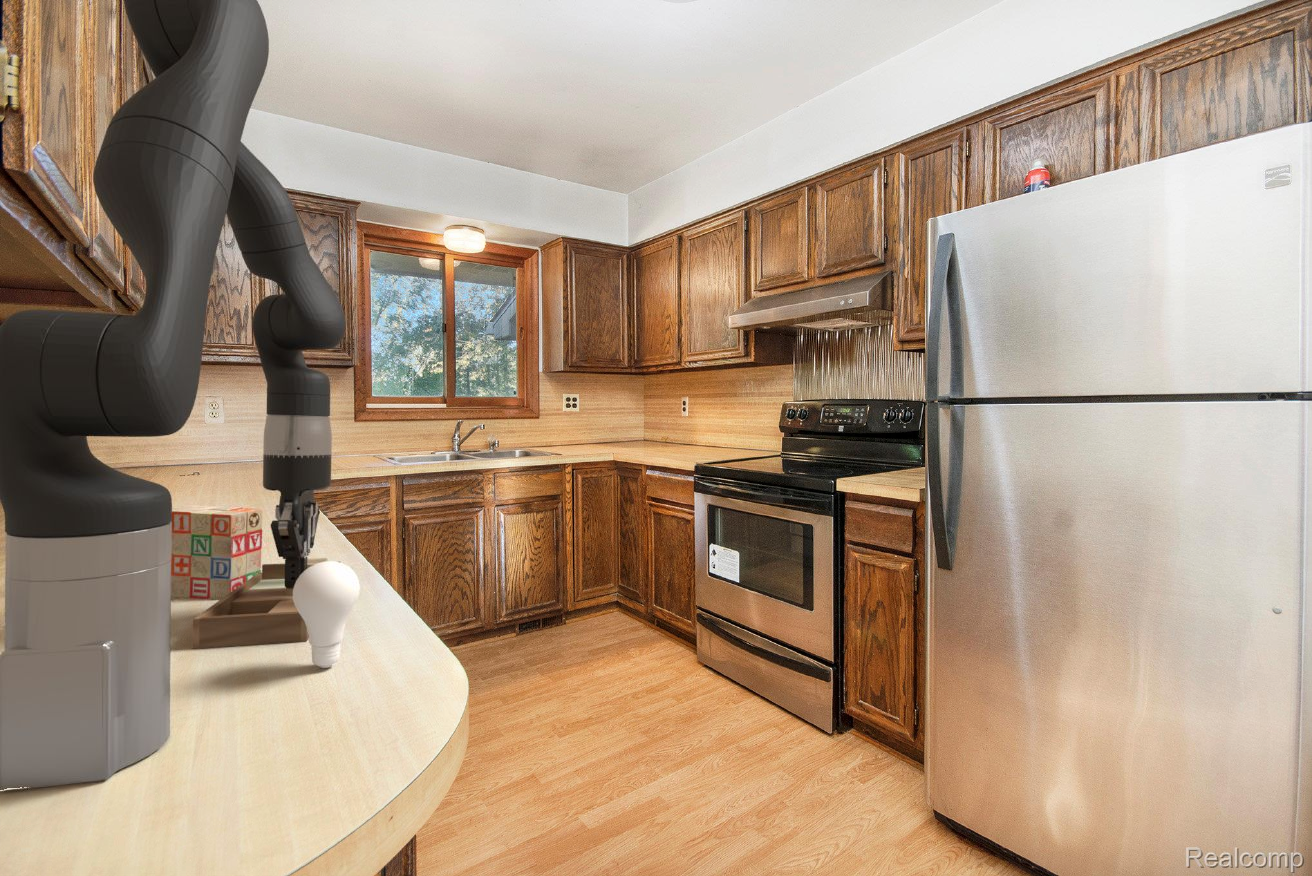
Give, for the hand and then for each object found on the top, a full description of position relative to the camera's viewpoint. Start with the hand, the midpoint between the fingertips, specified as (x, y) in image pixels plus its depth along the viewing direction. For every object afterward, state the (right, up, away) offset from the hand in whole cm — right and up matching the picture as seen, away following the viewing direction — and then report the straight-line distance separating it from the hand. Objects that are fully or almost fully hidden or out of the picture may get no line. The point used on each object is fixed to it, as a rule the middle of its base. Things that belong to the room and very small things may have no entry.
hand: (295, 586), depth 79 cm
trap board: (-3, -4, +1) cm, 5 cm away
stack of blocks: (-24, -4, +11) cm, 27 cm away
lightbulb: (+12, -5, -15) cm, 20 cm away
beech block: (-1, -2, +4) cm, 4 cm away
